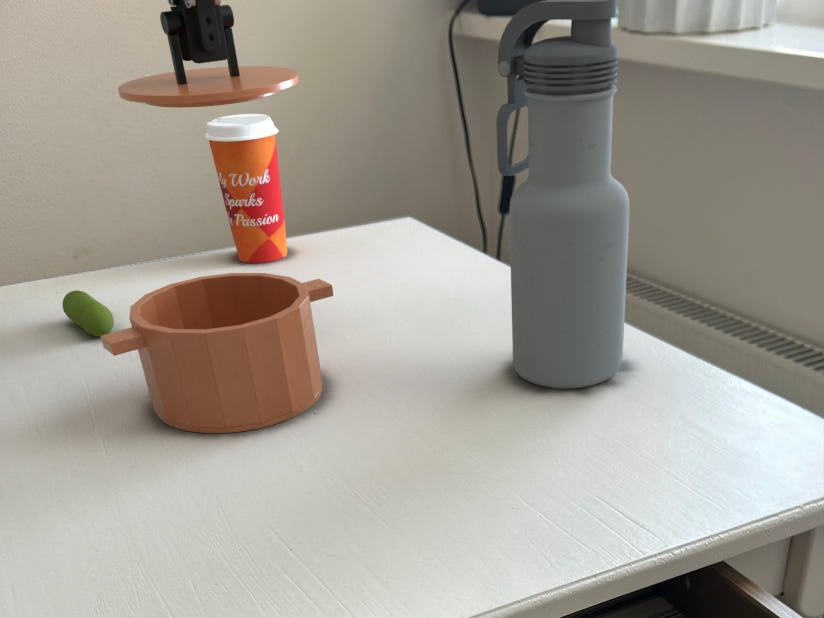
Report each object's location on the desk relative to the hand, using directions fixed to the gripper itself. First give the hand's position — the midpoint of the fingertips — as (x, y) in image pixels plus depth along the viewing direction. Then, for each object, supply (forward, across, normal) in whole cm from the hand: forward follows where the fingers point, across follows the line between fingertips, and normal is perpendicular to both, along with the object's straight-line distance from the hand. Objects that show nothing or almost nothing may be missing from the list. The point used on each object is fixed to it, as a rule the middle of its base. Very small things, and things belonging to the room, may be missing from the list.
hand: (204, 58), depth 85 cm
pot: (+24, +14, -8) cm, 29 cm away
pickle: (+24, -13, -13) cm, 30 cm away
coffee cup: (+24, -23, +12) cm, 35 cm away
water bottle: (+24, +29, +17) cm, 41 cm away
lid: (+2, 0, 0) cm, 2 cm away
